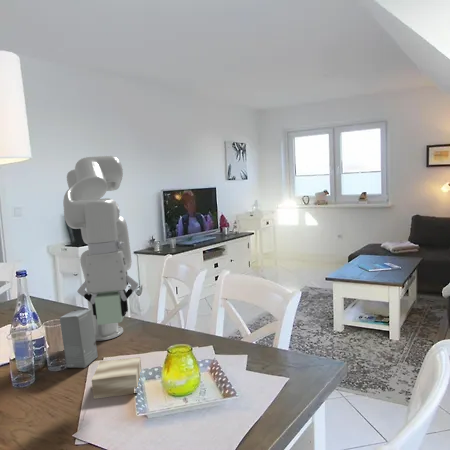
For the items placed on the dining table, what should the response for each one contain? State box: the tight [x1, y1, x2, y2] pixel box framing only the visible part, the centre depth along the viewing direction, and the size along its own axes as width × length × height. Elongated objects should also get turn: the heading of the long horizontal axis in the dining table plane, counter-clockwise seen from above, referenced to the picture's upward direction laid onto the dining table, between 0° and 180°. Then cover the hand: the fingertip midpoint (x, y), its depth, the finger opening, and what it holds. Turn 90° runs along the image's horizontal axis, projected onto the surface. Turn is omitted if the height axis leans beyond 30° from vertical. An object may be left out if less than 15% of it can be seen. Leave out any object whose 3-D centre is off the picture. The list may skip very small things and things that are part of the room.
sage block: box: [95, 291, 125, 325], centre depth 110 cm, size 6×6×7 cm
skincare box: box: [59, 308, 99, 369], centre depth 129 cm, size 8×7×16 cm
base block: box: [91, 356, 142, 400], centre depth 112 cm, size 11×11×5 cm
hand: (111, 315), depth 111 cm, fingers closed on sage block, 6 cm apart
